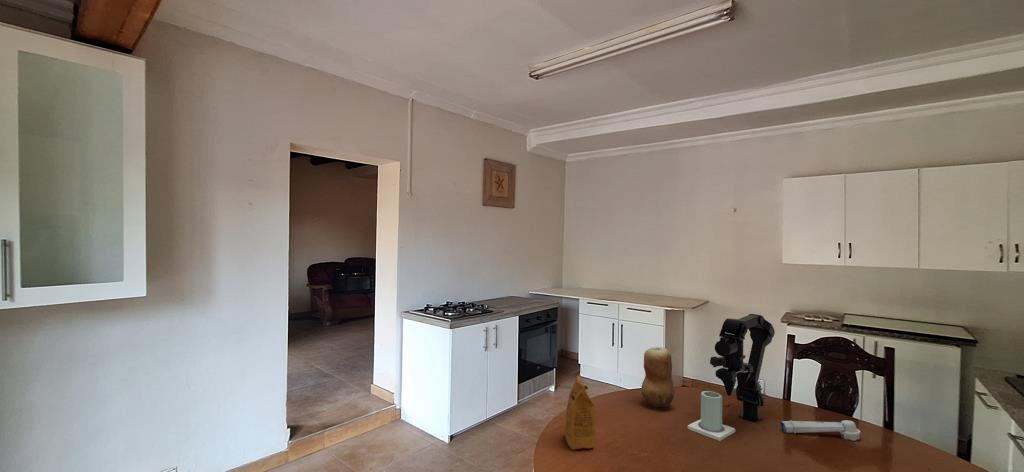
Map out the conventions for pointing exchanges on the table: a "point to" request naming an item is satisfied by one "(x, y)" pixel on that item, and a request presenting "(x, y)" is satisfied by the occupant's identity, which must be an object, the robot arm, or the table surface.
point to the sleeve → (711, 410)
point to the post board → (712, 434)
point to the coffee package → (580, 418)
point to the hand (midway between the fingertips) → (734, 392)
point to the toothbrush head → (822, 428)
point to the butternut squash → (658, 377)
